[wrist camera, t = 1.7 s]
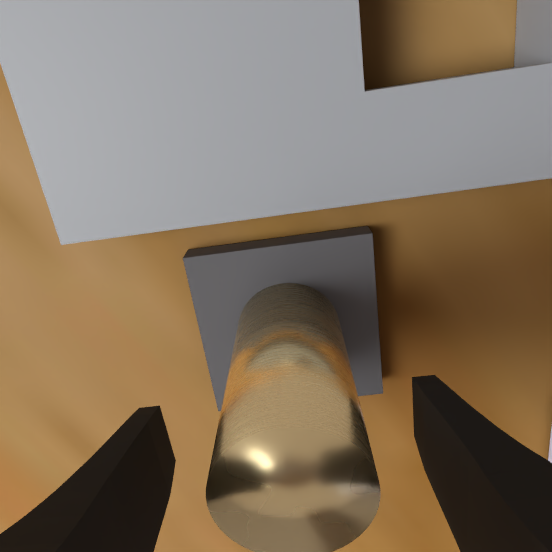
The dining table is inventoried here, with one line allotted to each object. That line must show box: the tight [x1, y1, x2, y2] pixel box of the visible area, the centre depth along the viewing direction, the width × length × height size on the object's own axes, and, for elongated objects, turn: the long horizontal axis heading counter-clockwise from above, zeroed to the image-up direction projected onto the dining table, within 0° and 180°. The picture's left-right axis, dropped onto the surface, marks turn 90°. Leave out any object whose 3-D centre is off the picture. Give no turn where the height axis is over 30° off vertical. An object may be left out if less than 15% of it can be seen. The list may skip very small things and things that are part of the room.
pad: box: [183, 226, 383, 411], centre depth 18 cm, size 7×7×1 cm
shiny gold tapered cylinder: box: [206, 283, 380, 552], centre depth 14 cm, size 4×4×8 cm
